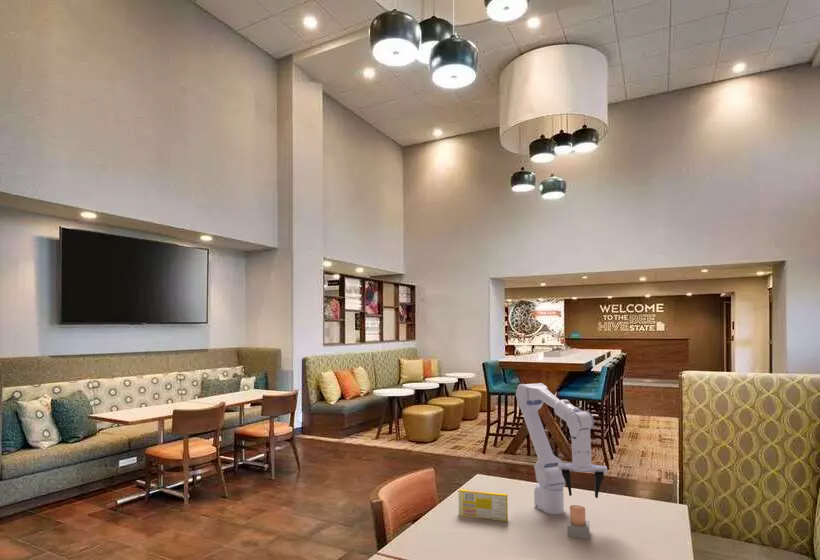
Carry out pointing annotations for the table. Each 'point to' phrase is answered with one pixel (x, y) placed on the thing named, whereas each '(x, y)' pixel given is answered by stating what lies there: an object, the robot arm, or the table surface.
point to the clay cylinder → (577, 515)
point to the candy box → (483, 504)
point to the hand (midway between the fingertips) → (583, 495)
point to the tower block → (578, 530)
